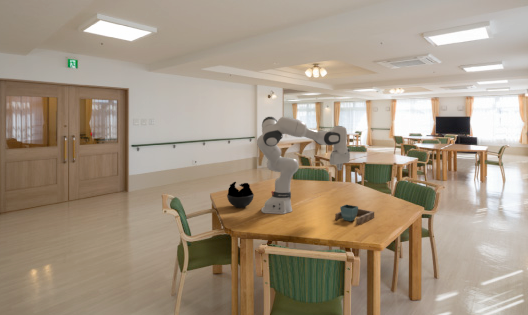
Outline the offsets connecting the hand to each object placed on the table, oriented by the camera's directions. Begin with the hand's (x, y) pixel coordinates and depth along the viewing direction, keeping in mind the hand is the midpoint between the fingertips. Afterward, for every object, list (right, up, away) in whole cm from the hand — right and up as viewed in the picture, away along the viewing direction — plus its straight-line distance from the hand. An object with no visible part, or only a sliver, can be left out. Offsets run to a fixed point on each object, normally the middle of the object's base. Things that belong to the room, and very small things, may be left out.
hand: (339, 170), depth 222 cm
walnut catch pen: (+8, -32, -7) cm, 34 cm away
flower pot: (+4, -32, -9) cm, 34 cm away
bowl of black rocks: (-69, -29, +24) cm, 79 cm away
